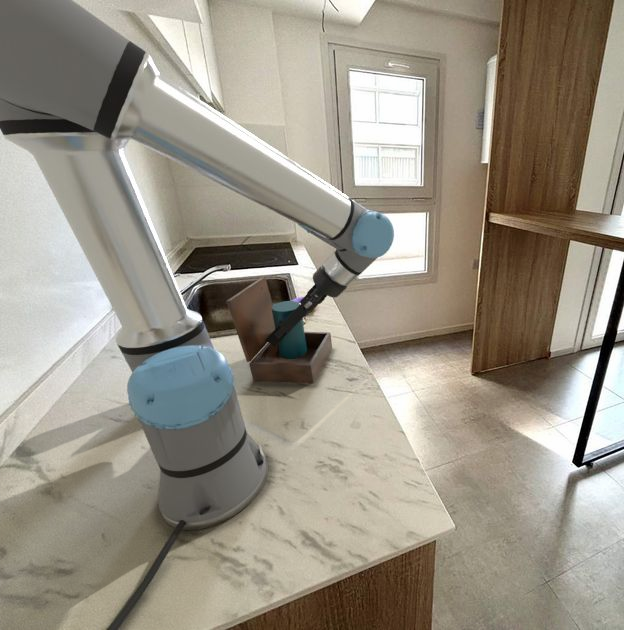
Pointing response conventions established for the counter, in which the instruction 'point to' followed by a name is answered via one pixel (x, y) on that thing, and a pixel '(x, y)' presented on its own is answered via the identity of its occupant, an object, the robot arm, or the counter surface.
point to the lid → (252, 317)
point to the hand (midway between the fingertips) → (276, 335)
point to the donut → (299, 300)
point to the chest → (292, 361)
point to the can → (295, 339)
